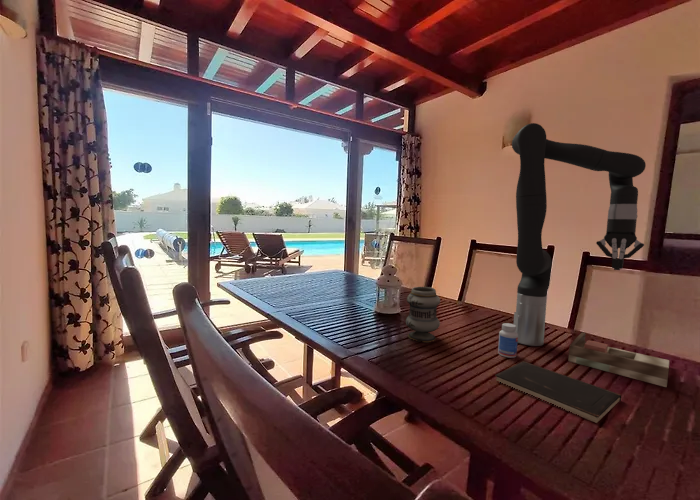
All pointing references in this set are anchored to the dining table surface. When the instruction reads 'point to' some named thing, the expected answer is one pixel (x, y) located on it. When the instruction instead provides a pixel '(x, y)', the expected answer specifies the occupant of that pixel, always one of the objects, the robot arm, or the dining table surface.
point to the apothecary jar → (422, 313)
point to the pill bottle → (508, 341)
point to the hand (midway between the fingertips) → (617, 269)
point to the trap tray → (621, 362)
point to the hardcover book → (560, 390)
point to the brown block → (596, 346)
